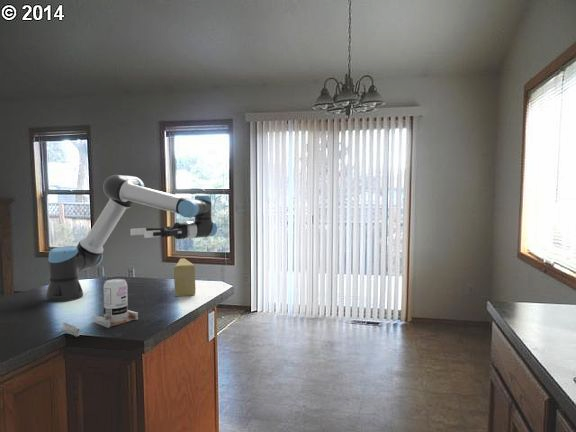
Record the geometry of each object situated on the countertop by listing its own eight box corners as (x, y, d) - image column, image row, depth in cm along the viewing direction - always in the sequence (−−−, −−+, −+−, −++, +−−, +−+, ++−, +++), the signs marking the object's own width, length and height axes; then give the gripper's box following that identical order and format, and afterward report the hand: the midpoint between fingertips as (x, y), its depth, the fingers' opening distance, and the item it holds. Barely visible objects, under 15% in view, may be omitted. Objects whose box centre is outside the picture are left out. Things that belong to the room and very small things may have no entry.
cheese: (173, 286, 205) (172, 258, 204) (192, 285, 208) (192, 257, 207) (174, 297, 184) (174, 265, 183) (195, 295, 187) (195, 264, 186)
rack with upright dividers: (62, 330, 137) (62, 323, 137) (123, 314, 156) (123, 308, 156) (76, 336, 131) (76, 329, 131) (137, 319, 150) (137, 312, 150)
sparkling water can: (108, 317, 152) (107, 278, 151) (130, 316, 153) (129, 278, 152) (100, 323, 144) (99, 283, 143) (124, 323, 145) (123, 282, 144)
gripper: (199, 241, 166) (150, 245, 151) (171, 236, 184) (125, 239, 169) (199, 223, 165) (150, 225, 151) (170, 220, 183) (125, 222, 169)
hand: (137, 233), depth 160 cm, fingers open, 13 cm apart
